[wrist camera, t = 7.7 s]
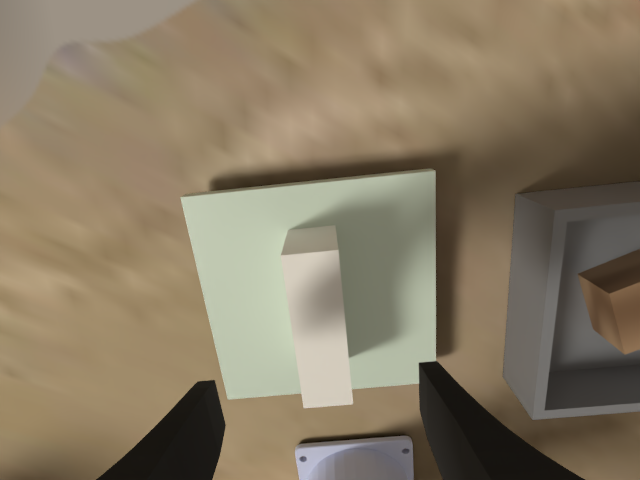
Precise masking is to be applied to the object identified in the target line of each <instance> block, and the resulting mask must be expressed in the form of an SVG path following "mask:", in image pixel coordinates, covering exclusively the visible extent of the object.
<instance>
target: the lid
mask: <svg viewBox="0 0 640 480" xmlns="http://www.w3.org/2000/svg"><path fill="white" fill-rule="evenodd" d="M180 198H181V202H182V206H183V210H184V215H185V219H186V223H187V227H188V232H189V236H190V240H191V244H192V249H193V253H194V257H195V262H196V266H197V270H198V274H199V279H200V283H201V287H202V291H203V296H204V300H205V304H206V308H207V313H208V317H209V321H210V326H211V330H212V334H213V338H214V343H215V347H216V351H217V355H218V360H219V364H220V368H221V373H222V377H223V381H224V385H225V390H226V394H227V398H228V399H240V398H252V397H264V396H276V395H288V394H300V393H301V394H302V400H303V407H304V408H313V407H326V406H338V405H350V404H353V398H352V389H360V388H372V387H384V386H396V385H408V384H419V363H420V362H432V361H436V171H435V170H433V169H431V168H429V169H419V170H410V171H400V172H391V173H381V174H372V175H362V176H353V177H343V178H333V179H324V180H314V181H305V182H295V183H286V184H276V185H267V186H257V187H247V188H238V189H228V190H219V191H209V192H200V193H190V194H185V195H184V196H182V197H180Z"/></svg>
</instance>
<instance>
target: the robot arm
mask: <svg viewBox="0 0 640 480" xmlns="http://www.w3.org/2000/svg"><path fill="white" fill-rule="evenodd" d="M419 398H420V412H421V416H422V420H423V424H424V428H425V431H426V435H427V439H428V442H429V444H430V447H431V449H432V452H433V455H434V457H435V460H436V463H437V465H438V468H439V470H440V473H441V475H442V478H443V480H585V479H583V478H581V477H579V476H578V475H576V474H574V473H573V472H571V471H569V470H568V469H566V468H564V467H563V466H561V465H560V464H558V463H556V462H555V461H553V460H552V459H550V458H549V457H547V456H545V455H544V454H542V453H541V452H539V451H538V450H536V449H535V448H534V447H532V446H531V445H529V444H528V443H527V442H525V441H524V440H522V439H521V438H520V437H518V436H517V435H516V434H514V433H513V432H512V431H510V430H509V429H508V428H507V427H505V426H504V425H503V424H502V423H501V422H499V421H498V420H497V419H496V418H495V417H494V416H492V415H491V414H490V413H489V412H488V411H487V410H486V409H484V408H483V407H482V406H481V405H480V404H479V403H478V402H477V401H476V400H475V399H474V398H473V397H472V396H470V395H469V394H468V393H467V392H466V391H465V390H464V389H463V388H462V387H461V386H460V385H459V384H458V383H457V382H456V381H455V380H454V379H453V378H452V376H451V375H450V374H449V373H448V372H447V371H446V370H445V369H444V368H443V367H442V366H441V365H440V364H439V363H438V362H437V361H432V362H420V363H419ZM224 431H225V421H224V417H223V413H222V409H221V405H220V401H219V396H218V392H217V388H216V384H215V380H211V381H199V382H197V383H196V384H195V385H194V386H193V387H192V388H191V389H190V390H189V391H188V392H187V393H186V394H185V396H184V397H183V398H182V399H181V400H180V401H179V402H178V403H177V404H176V405H175V406H174V407H173V409H172V410H171V411H170V412H169V413H168V414H167V415H166V416H165V417H164V418H163V419H162V420H161V421H160V422H159V423H158V424H157V425H156V426H155V427H154V428H153V429H152V430H151V431H150V432H149V433H148V434H147V435H146V436H145V437H144V438H143V439H142V440H141V441H140V442H139V443H138V444H137V445H136V446H135V447H134V448H133V449H132V450H130V451H129V452H128V453H127V454H126V455H125V456H124V457H123V458H122V459H120V460H119V461H118V462H117V463H116V464H115V465H113V466H112V467H111V468H110V469H109V470H107V471H106V472H105V473H104V474H103V475H101V476H100V477H99V478H98V479H96V480H212V478H213V475H214V472H215V469H216V466H217V463H218V459H219V456H220V452H221V447H222V442H223V436H224ZM405 448H407V449H405ZM295 456H296V462H297V468H298V474H299V480H414V470H413V444H412V440H411V438H410V437H408V436H393V437H381V438H368V439H355V440H343V441H330V442H317V443H305V444H299V445H297V446H296V448H295ZM302 456H305V457H302Z"/></svg>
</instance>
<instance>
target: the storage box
mask: <svg viewBox="0 0 640 480" xmlns="http://www.w3.org/2000/svg"><path fill="white" fill-rule="evenodd" d="M638 249H640V181H636V182H626V183H616V184H607V185H597V186H587V187H577V188H567V189H558V190H548V191H538V192H528V193H518V194H516V196H515V210H514V224H513V239H512V253H511V267H510V281H509V296H508V310H507V324H506V339H505V353H504V367H503V378H504V379H505V381H506V382H507V384H508V385H509V387H510V388H511V389H512V391H513V392H514V394H515V395H516V397H517V398H518V400H519V401H520V403H521V404H522V406H523V407H524V408H525V410H526V411H527V413H528V414H529V416H530V417H531V419H532V420H539V419H551V418H564V417H576V416H589V415H601V414H614V413H627V412H639V411H640V349H639V350H636V351H634V352H631V353H628V354H623V353H622V352H621V351H620V350H618V349H617V348H616V347H615V346H613V345H612V344H611V343H610V342H608V341H607V340H606V339H605V338H603V337H602V336H601V335H600V334H598V333H597V332H596V331H595V330H593V327H592V324H591V320H590V317H589V313H588V310H587V306H586V302H585V299H584V295H583V292H582V288H581V285H580V281H579V278H578V273H581V272H583V271H586V270H588V269H591V268H593V267H596V266H598V265H601V264H603V263H606V262H608V261H611V260H613V259H616V258H618V257H621V256H623V255H626V254H628V253H631V252H633V251H636V250H638Z"/></svg>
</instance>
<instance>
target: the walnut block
mask: <svg viewBox="0 0 640 480" xmlns="http://www.w3.org/2000/svg"><path fill="white" fill-rule="evenodd" d="M578 278H579V281H580V285H581V288H582V292H583V295H584V299H585V302H586V306H587V310H588V313H589V317H590V320H591V324H592V327H593V330H595V331H596V332H597V333H598V334H600V335H601V336H602V337H603V338H605V339H606V340H607V341H608V342H610V343H611V344H612V345H613V346H615V347H616V348H617V349H618V350H620V351H621V352H622V353H623V354H628V353H631V352H634V351H636V350H639V349H640V249H638V250H636V251H633V252H631V253H628V254H626V255H623V256H621V257H618V258H616V259H613V260H611V261H608V262H606V263H603V264H601V265H598V266H596V267H593V268H591V269H588V270H586V271H583V272H581V273H578Z"/></svg>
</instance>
